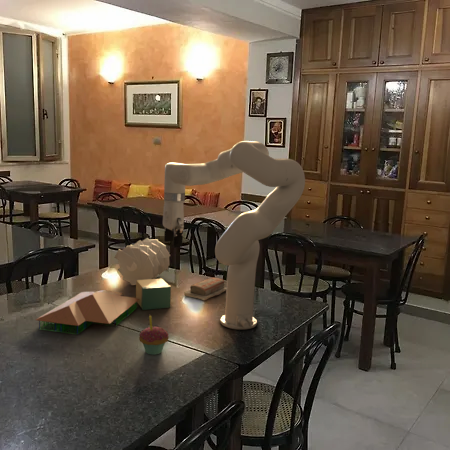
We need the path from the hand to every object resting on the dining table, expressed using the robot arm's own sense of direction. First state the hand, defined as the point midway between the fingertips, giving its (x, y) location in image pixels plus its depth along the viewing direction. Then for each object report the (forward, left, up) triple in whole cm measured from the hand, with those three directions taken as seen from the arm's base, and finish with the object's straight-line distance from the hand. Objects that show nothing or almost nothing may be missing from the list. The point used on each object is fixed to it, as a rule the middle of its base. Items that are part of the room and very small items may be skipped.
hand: (173, 244), depth 184 cm
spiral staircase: (+33, +3, -23) cm, 41 cm away
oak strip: (+9, +7, -23) cm, 26 cm away
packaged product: (+11, -17, -23) cm, 31 cm away
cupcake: (-39, +15, -23) cm, 48 cm away
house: (-6, +29, -23) cm, 38 cm away
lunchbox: (+2, +7, -23) cm, 24 cm away
